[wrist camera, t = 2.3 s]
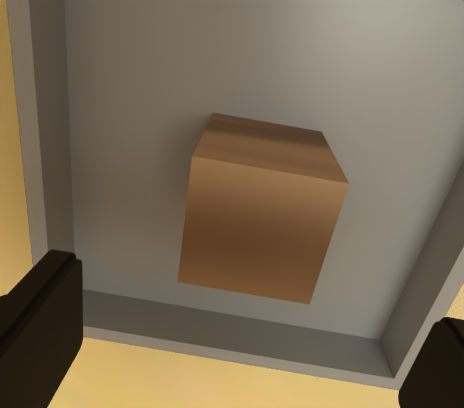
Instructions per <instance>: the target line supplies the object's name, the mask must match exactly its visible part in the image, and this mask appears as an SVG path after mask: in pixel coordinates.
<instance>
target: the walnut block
mask: <svg viewBox="0 0 464 408" xmlns="http://www.w3.org/2000/svg"><path fill="white" fill-rule="evenodd" d="M348 187H349V182H348V180H347V178H346V176H345V174H344V173H343V171H342V169H341V167H340V165H339V163H338V161H337V159H336V158H335V156H334V154H333V152H332V150H331V148H330V146H329V144H328V143H327V141H326V139H325V137H324V135H323V133H322V132H321V131H315V130H309V129H304V128H298V127H292V126H287V125H281V124H275V123H270V122H264V121H258V120H253V119H247V118H241V117H236V116H230V115H224V114H219V113H213V115H212V117H211V119H210V121H209V123H208V125H207V127H206V129H205V131H204V133H203V135H202V137H201V139H200V141H199V143H198V145H197V147H196V149H195V151H194V153H193V155H192V161H191V170H190V178H189V187H188V196H187V204H186V213H185V221H184V230H183V238H182V247H181V255H180V264H179V272H178V281H177V282H180V283H186V284H192V285H198V286H203V287H209V288H215V289H221V290H227V291H232V292H238V293H244V294H250V295H256V296H262V297H267V298H273V299H279V300H285V301H291V302H296V303H302V304H308V305H310V302H311V299H312V296H313V293H314V290H315V287H316V284H317V280H318V277H319V274H320V271H321V268H322V265H323V262H324V259H325V256H326V253H327V250H328V247H329V244H330V241H331V238H332V235H333V232H334V229H335V226H336V223H337V220H338V217H339V214H340V211H341V208H342V205H343V202H344V199H345V196H346V193H347V190H348Z"/></svg>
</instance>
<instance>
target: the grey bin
mask: <svg viewBox="0 0 464 408" xmlns="http://www.w3.org/2000/svg"><path fill="white" fill-rule="evenodd" d="M6 2H7V12H8V22H9V32H10V42H11V52H12V62H13V72H14V82H15V92H16V102H17V112H18V122H19V132H20V141H21V151H22V161H23V171H24V181H25V191H26V201H27V211H28V221H29V231H30V241H31V251H32V261H33V267H34V266H35V265H36V264H37V263H38V262H39V261H40V260H41V259H42V258H43V256H44V255H45V254H46V253H47V252H48V251H50V250H51V249H55V250H61V251H67V252H73V253H75V255H76V259H80V260H81V261H82V275H83V337H88V338H94V339H100V340H106V341H112V342H118V343H124V344H129V345H135V346H141V347H147V348H153V349H159V350H165V351H171V352H176V353H182V354H188V355H194V356H200V357H206V358H212V359H218V360H223V361H229V362H235V363H241V364H247V365H253V366H259V367H265V368H270V369H276V370H282V371H288V372H294V373H300V374H306V375H312V376H317V377H323V378H329V379H335V380H341V381H347V382H353V383H359V384H364V385H370V386H376V387H382V388H388V389H394V390H400V388H401V386H402V384H403V382H404V380H405V378H406V376H407V374H408V372H409V370H410V368H411V367H412V365H413V363H414V361H415V359H416V357H417V355H418V353H419V351H420V349H421V347H422V345H423V343H424V341H425V339H426V337H427V335H428V333H429V332H430V330H431V328H432V326H433V324H434V323H435V322H436V321H440V320H441V319H442V318H443V317H445V315H446V314H447V312H448V310H449V308H450V306H451V305H452V303H453V301H454V299H455V297H456V296H457V294H458V292H459V290H460V288H461V287H462V285H463V283H464V0H6ZM213 113H219V114H224V115H230V116H236V117H241V118H247V119H253V120H258V121H264V122H270V123H275V124H281V125H287V126H292V127H298V128H304V129H309V130H315V131H321V132H322V133H323V135H324V137H325V139H326V141H327V143H328V144H329V146H330V148H331V150H332V152H333V154H334V156H335V158H336V159H337V161H338V163H339V165H340V167H341V169H342V171H343V173H344V174H345V176H346V178H347V180H348V182H349V187H348V190H347V193H346V196H345V199H344V202H343V205H342V208H341V211H340V214H339V217H338V220H337V223H336V226H335V229H334V232H333V235H332V238H331V241H330V244H329V247H328V250H327V253H326V256H325V259H324V262H323V265H322V268H321V271H320V274H319V277H318V280H317V284H316V287H315V290H314V293H313V296H312V299H311V302H310V305H308V304H302V303H296V302H291V301H285V300H279V299H273V298H267V297H262V296H256V295H250V294H244V293H238V292H232V291H227V290H221V289H215V288H209V287H203V286H198V285H192V284H186V283H180V282H177V281H178V272H179V264H180V255H181V247H182V238H183V230H184V221H185V213H186V204H187V196H188V187H189V178H190V170H191V161H192V155H193V153H194V151H195V149H196V147H197V145H198V143H199V141H200V139H201V137H202V135H203V133H204V131H205V129H206V127H207V125H208V123H209V121H210V119H211V117H212V115H213Z"/></svg>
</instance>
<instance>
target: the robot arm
mask: <svg viewBox="0 0 464 408" xmlns="http://www.w3.org/2000/svg"><path fill="white" fill-rule="evenodd" d="M82 341H83V275H82V261H81V260H80V259H76V255H75V253H73V252H67V251H61V250H55V249H51V250H50V251H48V252H47V253H46V254H45V255H44V256H43V258H42V259H41V260H40V261H39V262H38V263H37V264H36V265H35V266H34V267H33V268H32V269H31V270H30V271H29V272H28V273H27V274H26V275H25V276H24V278H23V279H22V280H21V281H20V282H19V283H18V284H17V285H16V286H15V287H14V288H13V289H12V290H11V291H10V292H9V293H8V294H7V295H3V296H1V297H0V408H47V407H48V405H49V403H50V402H51V400H52V398H53V396H54V394H55V393H56V391H57V389H58V387H59V386H60V384H61V382H62V380H63V378H64V377H65V375H66V373H67V371H68V370H69V368H70V366H71V364H72V362H73V361H74V359H75V357H76V355H77V353H78V352H79V350H80V347H81V345H82ZM398 399H399V405H400V408H464V320H461V319H455V318H450V317H443V318H442V319H441V320H440V321H436V322H435V323H434V324H433V326H432V328H431V330H430V332H429V333H428V335H427V337H426V339H425V341H424V343H423V345H422V347H421V349H420V351H419V353H418V355H417V357H416V359H415V361H414V363H413V365H412V367H411V368H410V370H409V372H408V374H407V376H406V378H405V380H404V382H403V384H402V386H401V388H400V390H399V395H398Z"/></svg>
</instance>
